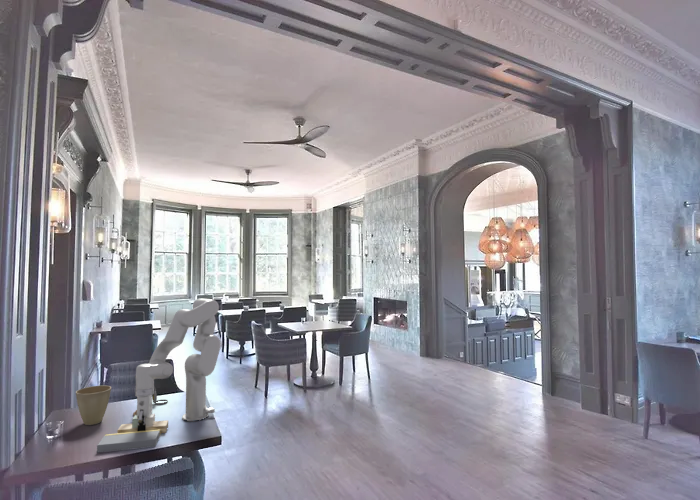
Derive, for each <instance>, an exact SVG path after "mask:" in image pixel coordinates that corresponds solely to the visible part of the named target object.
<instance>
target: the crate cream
mask: <svg viewBox="0 0 700 500" xmlns="http://www.w3.org/2000/svg"><path fill="white" fill-rule="evenodd" d="M155 416H156V413H151V415H150V416H149V418H146V420H145V424H146V427H148V426H153V425H154V423H155V421H156V417H155ZM143 422H144V419H143Z"/></svg>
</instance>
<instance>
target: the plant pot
mask: <svg viewBox="0 0 700 500" xmlns="http://www.w3.org/2000/svg"><path fill="white" fill-rule="evenodd" d="M111 392H112V386H110V385H93V386H86V387H83V388H80V389H78V390H76V391H75V397H76V403H77V409H78V411H79V415H80V417H81V420H82V422H83V424H84V425H85V426H92V425H96V424H99V423H101V422H102V421H103V419H104V416H105V415H106V411H107V407H108V405H109V400H110V398H111V397H110V396H111Z"/></svg>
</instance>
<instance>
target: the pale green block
mask: <svg viewBox="0 0 700 500" xmlns="http://www.w3.org/2000/svg"><path fill="white" fill-rule="evenodd" d="M142 418H144V417H142ZM131 420H132V421H131V424H132V428H137V427H138V419H137V415H135V416H133V418H132V419H131ZM142 420H143V419H142Z"/></svg>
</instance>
